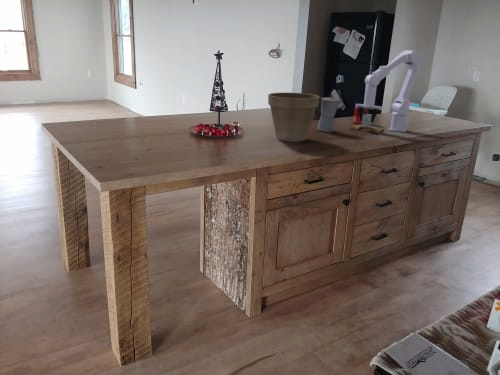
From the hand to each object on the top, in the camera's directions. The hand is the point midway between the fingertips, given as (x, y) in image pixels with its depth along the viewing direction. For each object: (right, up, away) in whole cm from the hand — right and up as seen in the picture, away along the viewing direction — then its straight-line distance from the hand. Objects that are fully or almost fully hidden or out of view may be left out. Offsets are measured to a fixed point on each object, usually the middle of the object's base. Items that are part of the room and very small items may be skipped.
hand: (366, 121), depth 252 cm
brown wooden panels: (+1, -4, +4) cm, 6 cm away
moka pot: (-24, -6, -5) cm, 26 cm away
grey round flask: (-1, -2, -1) cm, 2 cm away
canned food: (+1, +2, +21) cm, 22 cm away
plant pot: (-45, -13, -28) cm, 55 cm away
